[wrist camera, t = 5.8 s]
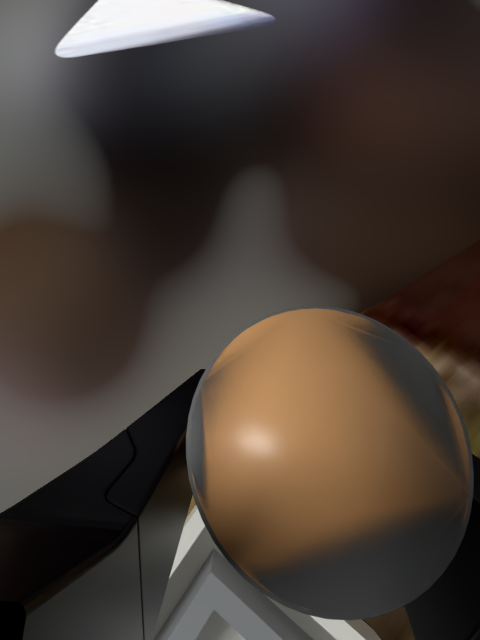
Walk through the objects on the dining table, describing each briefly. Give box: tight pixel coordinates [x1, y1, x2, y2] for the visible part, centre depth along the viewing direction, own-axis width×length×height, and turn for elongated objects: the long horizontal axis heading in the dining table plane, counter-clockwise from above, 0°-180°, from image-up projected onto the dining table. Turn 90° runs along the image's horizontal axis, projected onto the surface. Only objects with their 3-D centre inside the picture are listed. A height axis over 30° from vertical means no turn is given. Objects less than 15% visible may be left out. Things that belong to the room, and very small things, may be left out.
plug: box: [186, 306, 474, 620], centre depth 9 cm, size 4×4×11 cm
